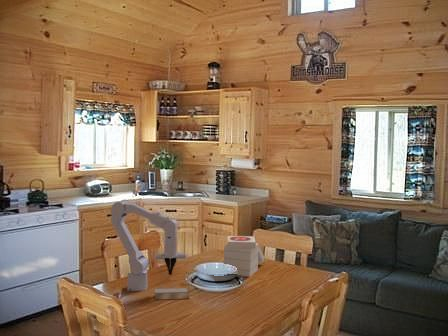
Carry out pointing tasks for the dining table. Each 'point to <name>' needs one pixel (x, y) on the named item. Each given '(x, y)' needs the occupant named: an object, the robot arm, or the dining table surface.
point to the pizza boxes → (243, 254)
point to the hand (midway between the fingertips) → (170, 274)
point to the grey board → (171, 290)
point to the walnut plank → (171, 296)
